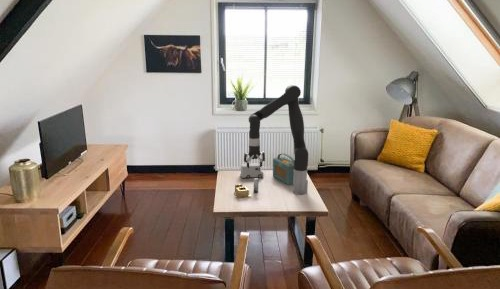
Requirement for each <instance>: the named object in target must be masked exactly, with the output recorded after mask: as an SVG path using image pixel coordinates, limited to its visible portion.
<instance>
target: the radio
mask: <svg viewBox="0 0 500 289" xmlns="http://www.w3.org/2000/svg"><path fill="white" fill-rule="evenodd" d="M282 155H283V156H282ZM285 156H286V157H285ZM294 161H295V158H293V157H292V156H290V155H289V154H287V153H279V154H278V155H277V157H274V158H273V159H272V177H274V178H275V179H277V180H279V181H280V182H282V183H284V184H286V185H287V186H291V185H292V186H293V177H294Z"/></svg>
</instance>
